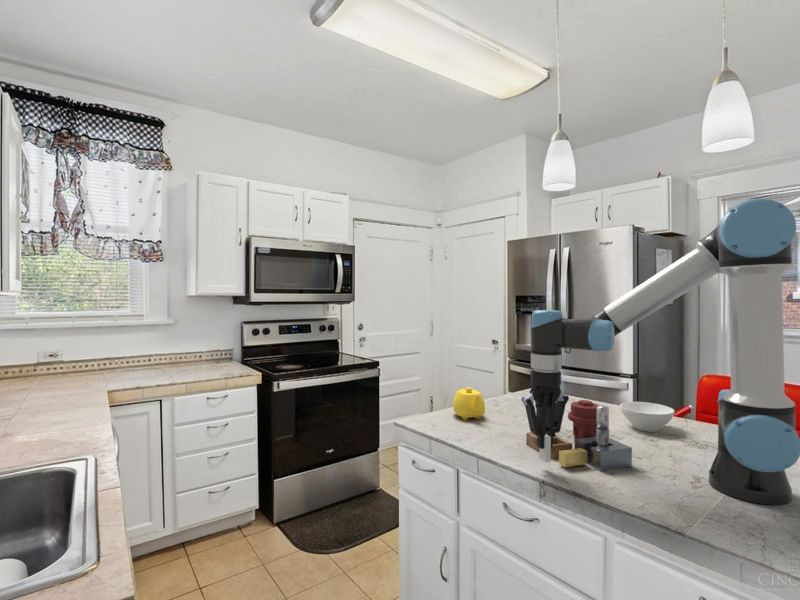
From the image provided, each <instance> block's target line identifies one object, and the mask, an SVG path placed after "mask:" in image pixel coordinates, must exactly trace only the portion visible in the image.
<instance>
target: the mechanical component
mask: <svg viewBox="0 0 800 600" xmlns="http://www.w3.org/2000/svg"><path fill="white" fill-rule="evenodd" d="M597 406H600V405H599V404H598V403H594V402H593V401H591V400H586V399H580V400H578V401H573V402H571V403H570V411H569V412H568V413H567V419H568V420H569V421H570V422H572V435H573V439H574V440H575V439H582V438H590V437H596V428H597Z"/></svg>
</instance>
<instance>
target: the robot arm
mask: <svg viewBox="0 0 800 600" xmlns="http://www.w3.org/2000/svg"><path fill="white" fill-rule="evenodd" d="M796 233H797V221H796V217H795V216H794V214H793V212H792V211H791V210H790V208H788V206H786V205H785V204H783V203H781V202H779V201H778V200H777V201H776V200H773V199H769V198H753V199H748V200H745V201H742V202H741V203H738V204H736V205H734V206H732V207H731V208H729V209H728V210H727V211H726V212H724V214H723V216H722V217H721V220H720V221H719V224H718V225H717V226H716V227H715V228H714V229H713V230H712V231H710V232H709V233H708V234H707V235H706V236H704V237H702V238H701V239H700V240H698V241H697V242H696V244H695V248H694V249H693V250H691V251H689V252H688V253H686V254H685V255H683V256H681V257H680V258H678V259H676V260H675V261H674V262H673V263H671V264H669V265H668V266H667V267H665V268H663V269H662V270H660V271H658V272H657V273H656V274H654V275H652V276H651V277H649V278H648V279H647V280H645V281H644V282H642V283H641V284H639V285H637V286H636V287H634V288H633V289H631V290H630V291H628V292H627V293H625V294H623V295H622V296H621V297H619V298H618V299H616V300H614V301H612V302H611V303H610V304H608V305H606V306H605V307H604V308H603V309H601V310H599V311H597V312H596V313H594V314H592V315H591V316H590V317H588V318H584V319H583V318H580V319H579V318H567V317H566V318H564V316H563V313H562V311H560V310H556V309H555V310H553V309H538V310H534V311H532V314H531V323H530V324H531V325H530V368H532V369H531V370H530V385H531V388H530V390H529V394H528V395H527V396H523V397H521V401H522V403H523V405H524V407H525V411H526V417H527V421H528V427H529V430H530V432H532V433H534V434H536V435H537V446H538V447H539V451H538V453H539V456H538V458H539V459H540V460H541V461H543V462H544V463H550V462H551V447H552V446H553V437H555V436H557V433H558V434H559V433H560V432H561V427H562V423H563V419H564V415H565V414H564V413H565V411H566V405H567V403H568V401H569V399H570V397H569V395H567V394H564V393H562V389H561V388H560V387H561V384H562V372H561V370H562V349H571V350H572V349H573V350H584V351H594V352H596V353H597V352H611V351H612V350H613V349H614V344H615V337H616V336H618V335H619V334H621V332H624V331H625V330H627V329H629V328H630V327H632V326H634V325H635V324H637V323H639V322H640V321H641V320H643V319H645V318H646V317H648V316H649V315H651V314H653V313H655V312H657V311H658V310H660V309H662V308H663V307H664V306H666V305H668V304H670V303H672V302H673V301H674V300H676V299H678V298H679V297H681V296H683V295H684V294H686V293H688V292H689V291H690V290H694V288H696V287H698V286H700V285H702V283H704V282H706V281H707V280H710V279H711V278H712V277H714V276H716V275H717V274H722V275H723V274H724V275H726V276H727V278H728V279H727V281H728V307H729V308H728V316H729V320H728V321H729V357H730V358H729V363H730V389H726V388H725V389H721V390H720V391H719V393H718V399H717V403H718V411H717V412H718V413H717V414H718V419H717V420H718V421H717V424H718V425H717V428H718V429H717V432H718V433H717V435H718V436H717V452H716V455H715V457H714V460H713V461H712V464H711V466H710V469H709V471H708V483H709V484H710V486H711V487H712V488H714V489H715V490H717V491H718V492H721V493H722V494H725V495H727V496H729V497H733V498H736V499H739V500H743V501H746V502H751V503H756V504H762V505H771V506H772V505H773V506H774V505H775V506H777V505H785V504H786V505H787V504H789V503H791V502H792V501H793V500H792V499H793V498H792V497H793V496H792V495H793V494H792V493H793V491H792V486H791V485H790V482H789V479H788V476H787V474H786V471H785V470H786V469H789V468H790V467H793V465H794V464H796V462H797V461H799V459H800V436H799V434H798V432H797V431H796V430H797V429H796V403H795V402H794V400H792V399H790V397H788V396H787V395H786V393H785V362H784V361H785V360H784V359H785V358H784V357H785V355H784V354H785V353H784V352H785V351H784V348H785V347H784V310H783V309H784V308H783V306H784V303H783V274H784V273H785V272H786V271H788V270H789V269H790V268H791V267H792V265H793V262H792V260H793V259H792V258H793V257H792V255H793V253H792V252H793V251H792V242H793V240H794V238H795V236H796ZM534 404H535V405H534Z"/></svg>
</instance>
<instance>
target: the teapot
mask: <svg viewBox="0 0 800 600" xmlns="http://www.w3.org/2000/svg"><path fill="white" fill-rule="evenodd" d="M452 404H453V405H452V407H453V408H452V409H453V411H454V413H455V414H456V416H458V417H461V420H462V421H468V420H469V418H475V419H476V420H481V419H482V417H483V416H484V415H485V414H486V405H485V401H484V398H483V396H482V393H481V392H480V391H478V390H476V389H473V387H465V388H460V389H459V390H457V391H456V393H455V396H454V399H453V403H452Z"/></svg>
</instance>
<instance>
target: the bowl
mask: <svg viewBox="0 0 800 600" xmlns="http://www.w3.org/2000/svg"><path fill="white" fill-rule="evenodd" d="M619 406H620V407H619V408H620V411H621V412H622V415H624V417H625V418H626V419H627V420H628V421H629V423H630V424H631V425H632V426H633V428H634V429H636V430H638V431H639V430H640V431H643V432H647V433H648V432H650V433H656V432H659V431H661V429H662V428H663V427H665V425H667V424H668V423H670V422H671V420H672V419H673V417H674V415H675V410H674V408H672V407H669V406H667V405H664V404H660V403H654V402H648V401H647V402H645V401H626V402H622V403H620V404H619Z"/></svg>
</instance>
